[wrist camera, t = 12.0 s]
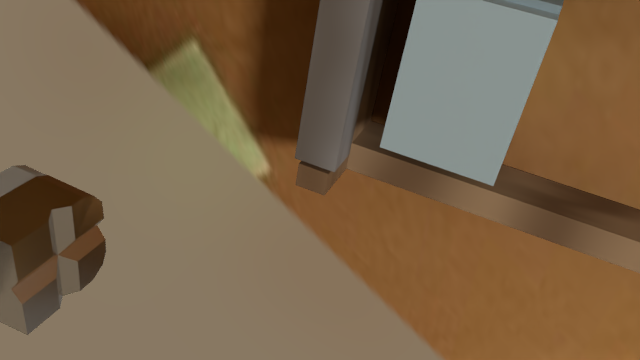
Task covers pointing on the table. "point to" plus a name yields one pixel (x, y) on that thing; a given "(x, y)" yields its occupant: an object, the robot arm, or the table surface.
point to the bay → (419, 177)
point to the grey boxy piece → (467, 81)
